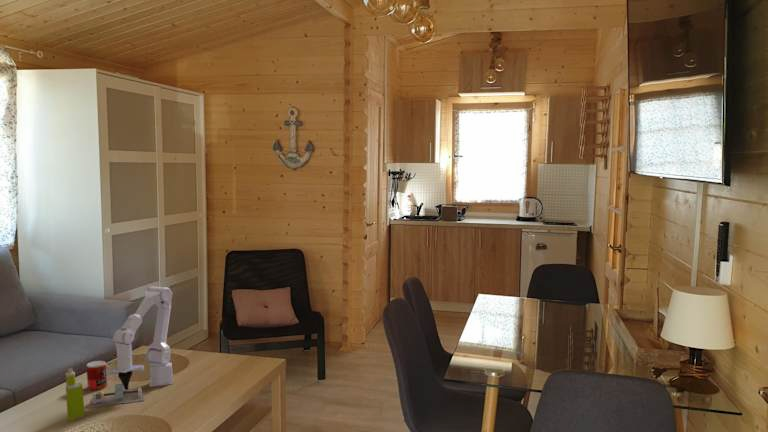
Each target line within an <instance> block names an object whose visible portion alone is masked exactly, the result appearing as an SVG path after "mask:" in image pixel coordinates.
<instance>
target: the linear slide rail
mask: <svg viewBox="0 0 768 432" xmlns="http://www.w3.org/2000/svg"><path fill="white" fill-rule="evenodd" d="M123 394H124V396H123V398H116V399H115V391H113V392H108V393H105V391H104V390H103V391H99V392H95V393H93V394H92V398H91V400H90V403H89V406H88V408H90V409H95V408H94V407H97V408H103V407H102V406H104V407H109V406H108V405H111V406H116V405H115V404H118V405H122V404H121V403H125V404H131V403H130V402H133V403H138V402H139V401H140V402H144V401H145V398H146V391H143V390H142V387H138V388H137V389H131V390H129V389H128V390H124V391H123Z"/></svg>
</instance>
